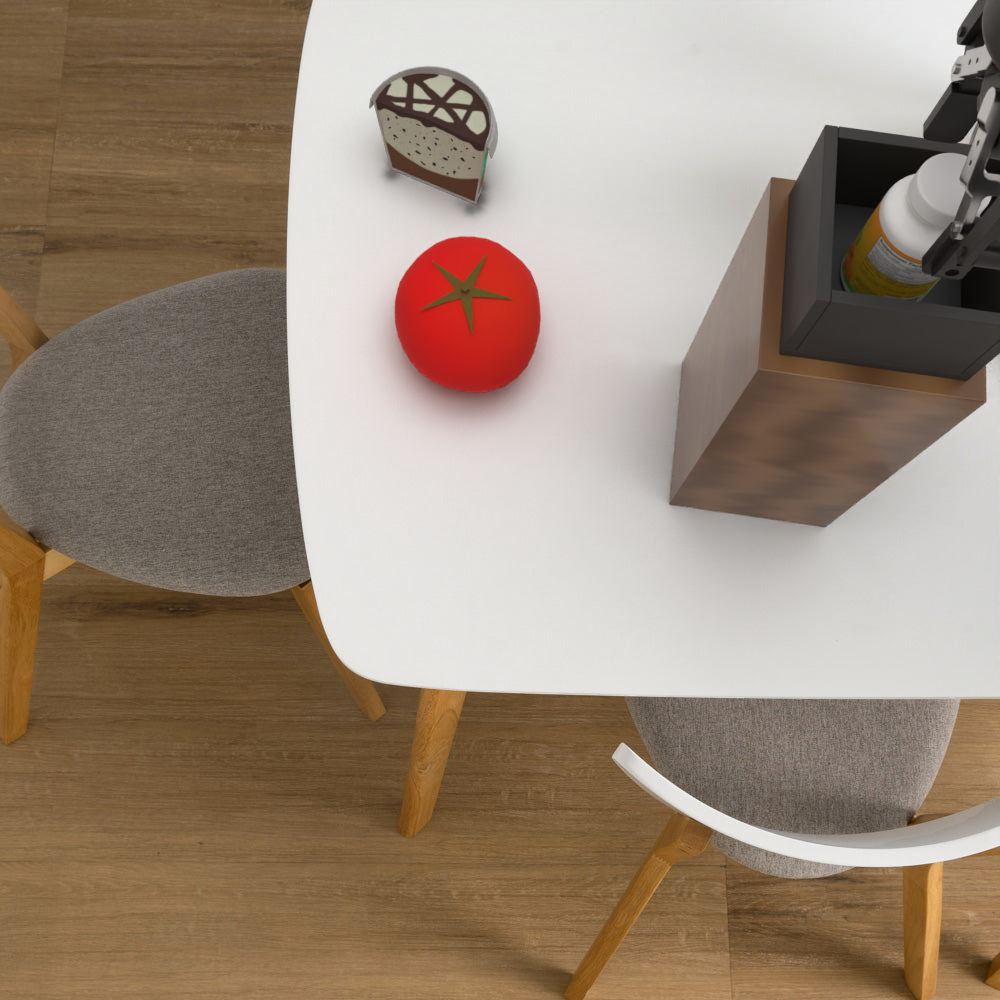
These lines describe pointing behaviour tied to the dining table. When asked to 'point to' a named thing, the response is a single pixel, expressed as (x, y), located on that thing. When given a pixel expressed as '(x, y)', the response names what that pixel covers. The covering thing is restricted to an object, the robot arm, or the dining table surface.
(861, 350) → the dark grey open box
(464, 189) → the food container
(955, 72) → the robot arm
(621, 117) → the dining table surface
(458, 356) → the tomato
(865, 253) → the supplement bottle
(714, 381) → the stand
